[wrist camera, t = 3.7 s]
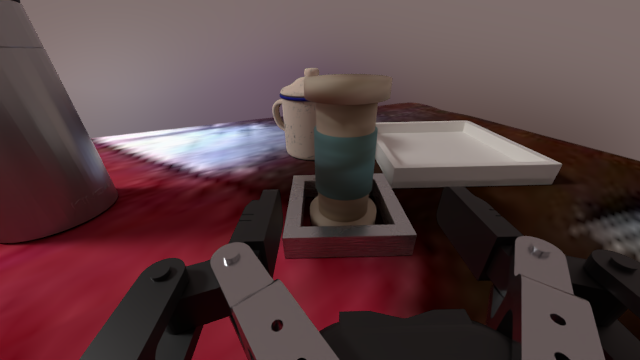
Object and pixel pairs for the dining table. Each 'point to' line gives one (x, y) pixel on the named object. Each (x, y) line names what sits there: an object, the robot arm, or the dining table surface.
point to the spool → (345, 145)
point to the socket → (347, 227)
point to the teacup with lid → (297, 118)
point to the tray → (456, 156)
